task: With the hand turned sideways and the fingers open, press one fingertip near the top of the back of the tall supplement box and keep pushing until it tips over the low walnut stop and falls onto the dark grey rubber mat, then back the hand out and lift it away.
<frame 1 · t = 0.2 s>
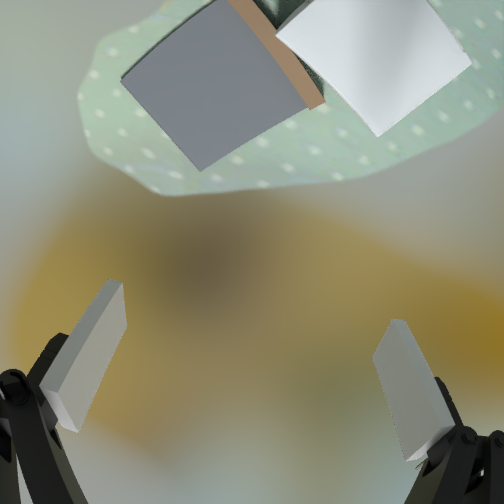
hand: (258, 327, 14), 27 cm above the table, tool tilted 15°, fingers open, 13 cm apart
topple mat: (217, 82, 31), on the table
supplement box: (337, 31, 25), on the table
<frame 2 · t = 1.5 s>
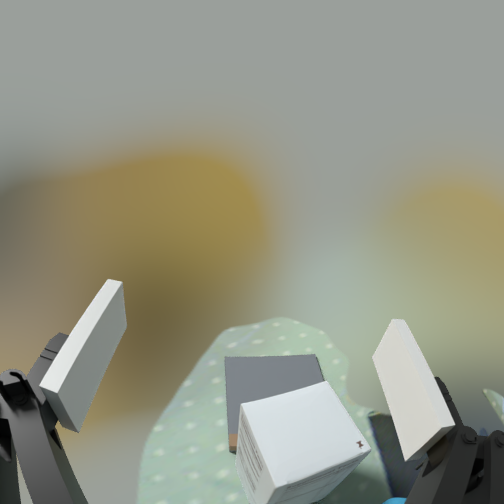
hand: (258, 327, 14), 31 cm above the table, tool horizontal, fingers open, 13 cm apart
topple mat: (278, 399, 44), on the table
supplement box: (278, 484, 31), on the table
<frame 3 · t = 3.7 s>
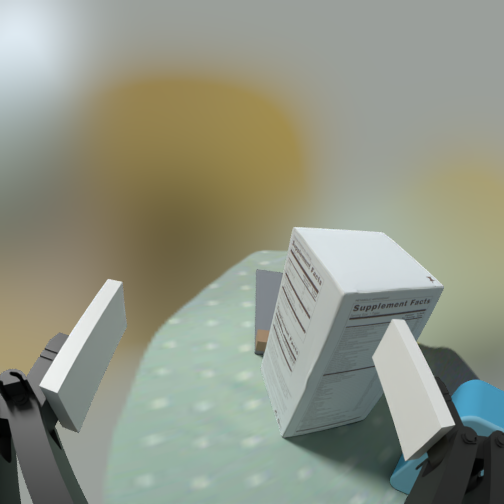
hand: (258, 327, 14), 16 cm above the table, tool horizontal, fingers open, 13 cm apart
topple mat: (312, 312, 42), on the table
supplement box: (310, 396, 29), on the table
data package: (436, 488, 18), on the table
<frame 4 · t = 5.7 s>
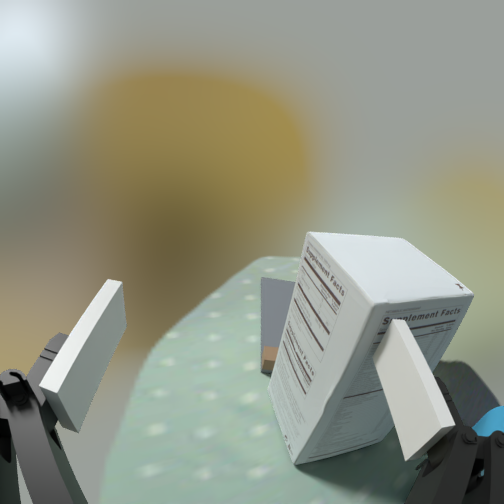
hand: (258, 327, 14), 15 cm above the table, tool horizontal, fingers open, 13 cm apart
topple mat: (321, 325, 39), on the table
supplement box: (322, 418, 26), on the table
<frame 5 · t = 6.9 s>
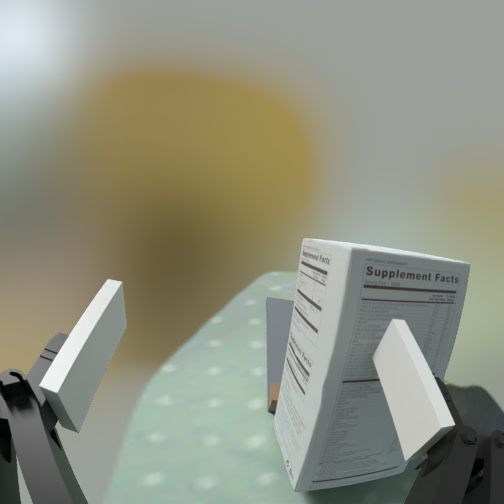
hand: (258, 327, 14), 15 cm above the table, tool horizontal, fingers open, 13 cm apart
topple mat: (333, 352, 34), on the table
supplement box: (333, 452, 21), point 2 cm above the table, touching gripper, topple mat
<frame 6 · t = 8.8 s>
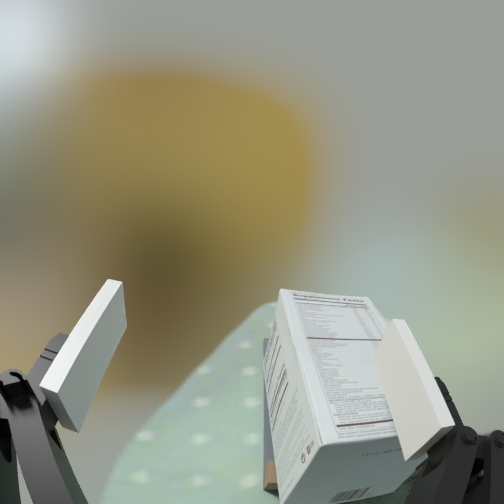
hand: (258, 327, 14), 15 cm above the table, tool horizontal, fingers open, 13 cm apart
topple mat: (342, 408, 27), on the table
supplement box: (367, 479, 14), point 7 cm above the table, touching topple mat
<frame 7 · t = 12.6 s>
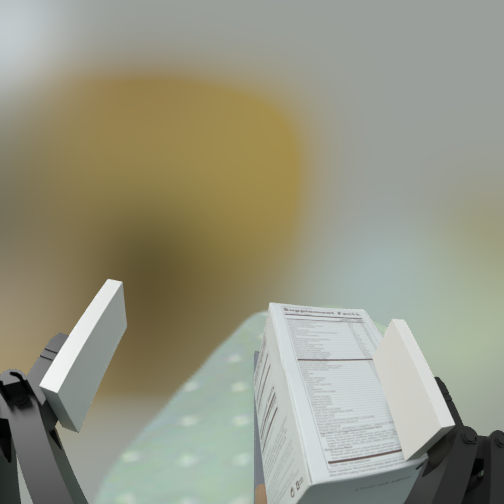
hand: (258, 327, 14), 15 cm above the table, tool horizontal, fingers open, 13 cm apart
topple mat: (337, 424, 25), on the table
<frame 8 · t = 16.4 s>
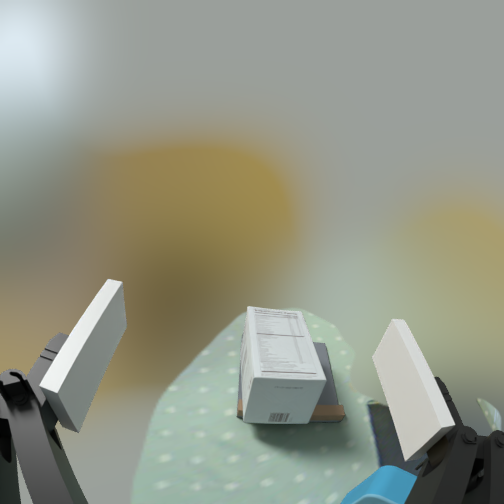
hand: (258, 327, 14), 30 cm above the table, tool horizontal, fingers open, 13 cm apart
topple mat: (287, 377, 48), on the table
supplement box: (283, 405, 35), point 7 cm above the table, touching topple mat
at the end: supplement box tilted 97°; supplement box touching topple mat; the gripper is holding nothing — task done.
